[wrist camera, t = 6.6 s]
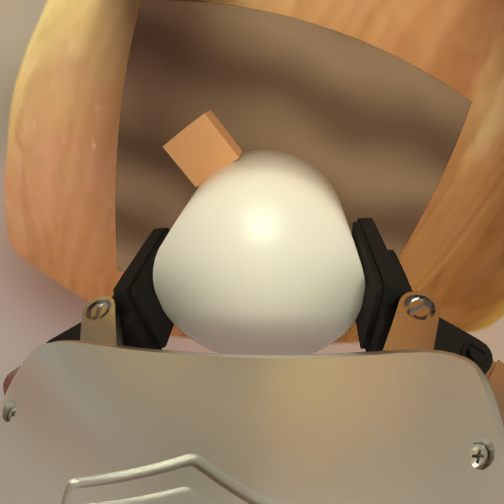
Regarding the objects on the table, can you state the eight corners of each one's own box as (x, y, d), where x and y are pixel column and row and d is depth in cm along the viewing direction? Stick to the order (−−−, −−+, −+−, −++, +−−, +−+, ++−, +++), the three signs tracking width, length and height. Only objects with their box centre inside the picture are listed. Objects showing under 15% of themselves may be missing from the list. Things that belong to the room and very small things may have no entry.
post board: (156, 5, 12) (105, -12, 7) (455, 97, 13) (511, 116, 8) (127, 255, 24) (96, 303, 19) (347, 312, 25) (355, 368, 20)
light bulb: (259, 76, 10) (242, 78, 6) (365, 245, 14) (390, 323, 9) (135, 171, 12) (74, 225, 8) (248, 299, 16) (236, 375, 12)
